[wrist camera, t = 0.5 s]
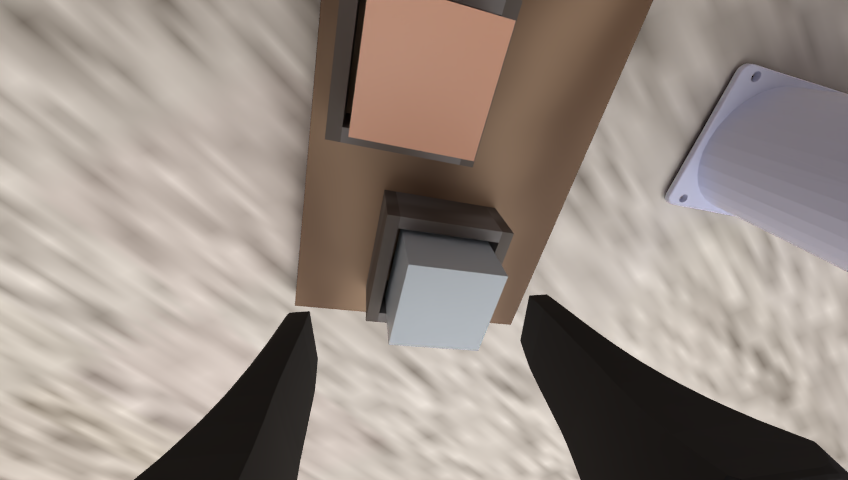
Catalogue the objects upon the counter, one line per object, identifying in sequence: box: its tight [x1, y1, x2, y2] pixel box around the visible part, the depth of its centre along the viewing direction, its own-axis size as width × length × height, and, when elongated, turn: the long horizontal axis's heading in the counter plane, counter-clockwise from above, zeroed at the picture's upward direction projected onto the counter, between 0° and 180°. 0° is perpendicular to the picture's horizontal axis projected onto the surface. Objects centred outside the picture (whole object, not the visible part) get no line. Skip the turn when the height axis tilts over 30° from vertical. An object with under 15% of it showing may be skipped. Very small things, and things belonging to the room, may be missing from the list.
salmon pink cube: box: [348, 0, 516, 161], centre depth 13 cm, size 4×4×4 cm
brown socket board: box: [295, 0, 653, 325], centre depth 16 cm, size 14×28×4 cm, turn 167°
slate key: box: [385, 229, 508, 351], centre depth 18 cm, size 4×4×4 cm
